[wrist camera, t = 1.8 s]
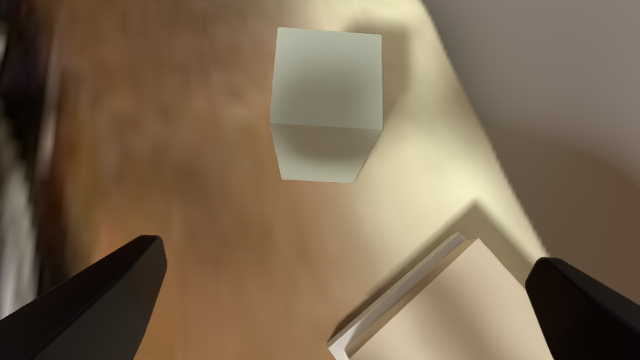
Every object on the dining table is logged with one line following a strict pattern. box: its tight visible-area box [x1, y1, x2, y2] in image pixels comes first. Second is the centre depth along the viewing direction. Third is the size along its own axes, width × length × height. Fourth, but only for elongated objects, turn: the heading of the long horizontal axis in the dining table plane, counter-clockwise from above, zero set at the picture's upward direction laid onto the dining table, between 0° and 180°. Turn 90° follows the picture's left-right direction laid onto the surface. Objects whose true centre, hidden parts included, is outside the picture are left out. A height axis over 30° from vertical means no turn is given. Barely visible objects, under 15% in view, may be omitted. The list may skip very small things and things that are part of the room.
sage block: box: [269, 27, 383, 183], centre depth 19 cm, size 5×5×9 cm
